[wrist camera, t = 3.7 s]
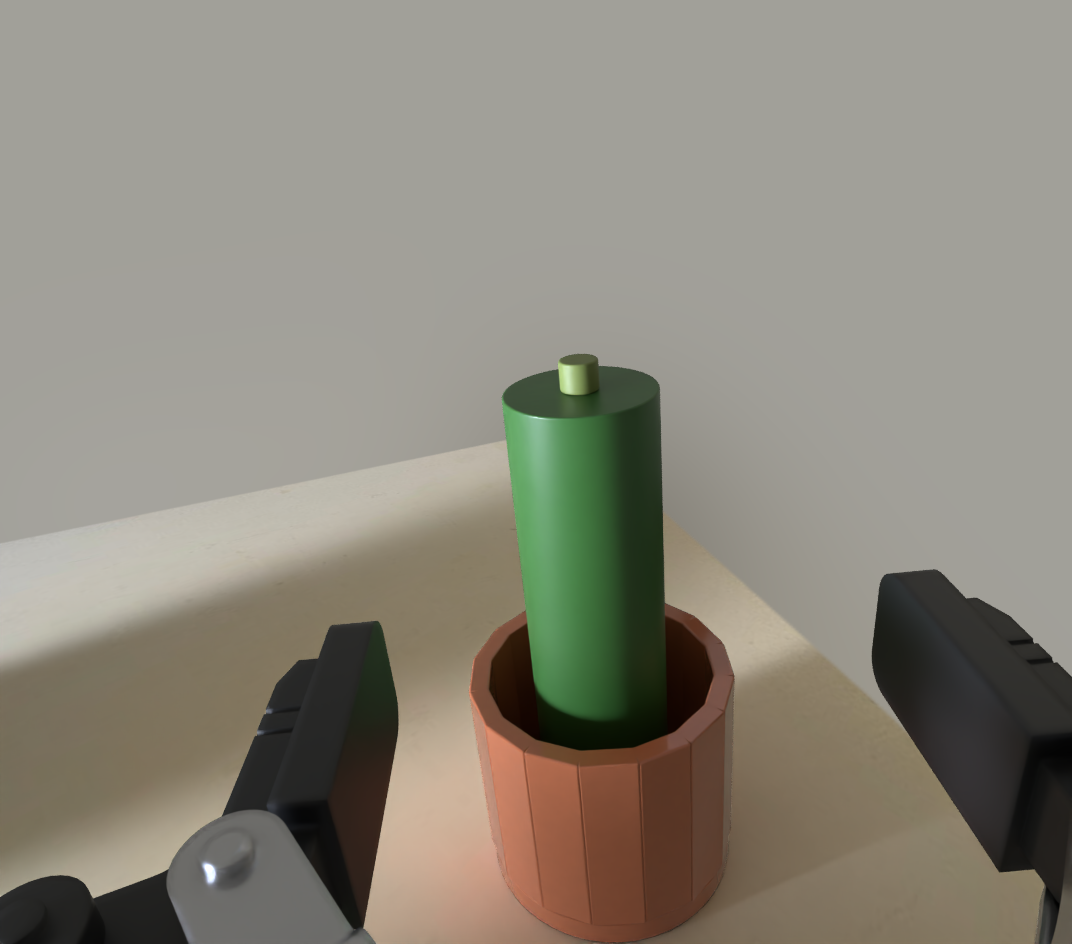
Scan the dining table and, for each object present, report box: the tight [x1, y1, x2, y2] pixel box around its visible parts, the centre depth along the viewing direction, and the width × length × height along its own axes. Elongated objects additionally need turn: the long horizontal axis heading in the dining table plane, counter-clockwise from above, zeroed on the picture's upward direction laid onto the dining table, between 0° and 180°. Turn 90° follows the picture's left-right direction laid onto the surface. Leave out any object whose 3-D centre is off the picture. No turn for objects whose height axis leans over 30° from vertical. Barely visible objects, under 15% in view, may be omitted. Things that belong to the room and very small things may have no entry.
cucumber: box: [502, 354, 668, 751], centre depth 22 cm, size 4×4×16 cm
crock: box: [469, 603, 735, 942], centre depth 25 cm, size 8×8×7 cm
